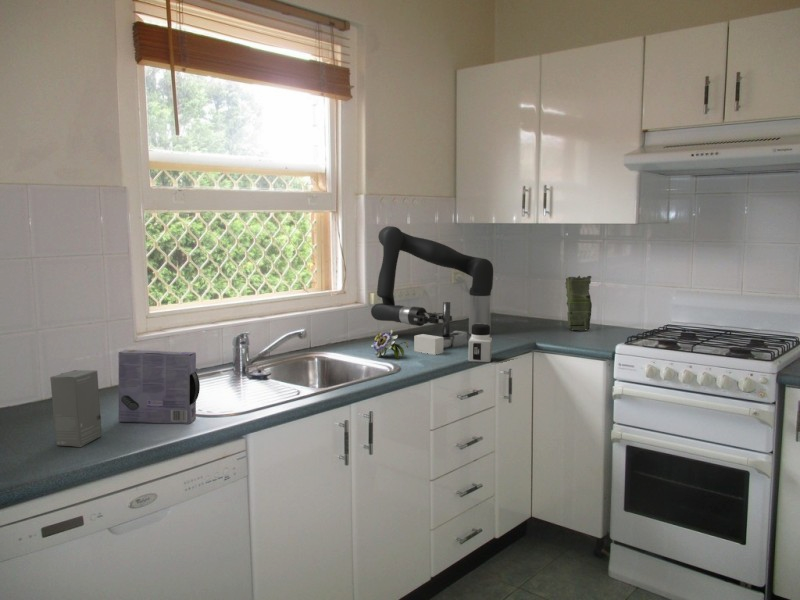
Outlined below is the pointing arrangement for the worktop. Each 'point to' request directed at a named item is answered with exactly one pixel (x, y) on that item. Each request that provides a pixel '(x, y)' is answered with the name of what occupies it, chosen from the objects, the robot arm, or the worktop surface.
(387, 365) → the worktop surface
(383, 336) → the passion flower
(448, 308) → the tube
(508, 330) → the worktop surface
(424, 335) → the socket block
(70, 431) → the skincare box
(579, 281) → the pouch
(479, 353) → the container
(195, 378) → the cake pan box
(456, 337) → the sleeve
